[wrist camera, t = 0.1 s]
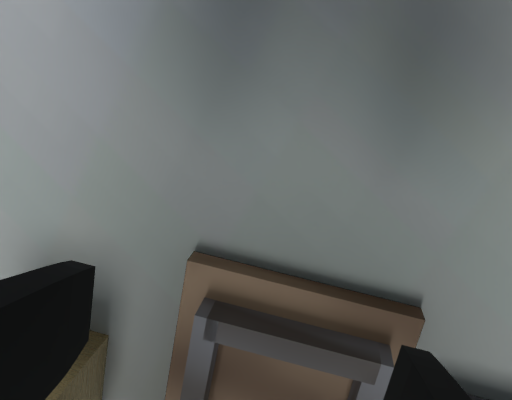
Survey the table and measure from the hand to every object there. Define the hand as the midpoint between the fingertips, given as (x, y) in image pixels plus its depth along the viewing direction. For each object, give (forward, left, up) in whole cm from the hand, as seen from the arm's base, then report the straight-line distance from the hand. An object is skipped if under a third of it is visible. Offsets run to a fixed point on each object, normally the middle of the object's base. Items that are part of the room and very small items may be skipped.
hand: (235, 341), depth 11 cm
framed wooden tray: (-9, -2, -9) cm, 13 cm away
